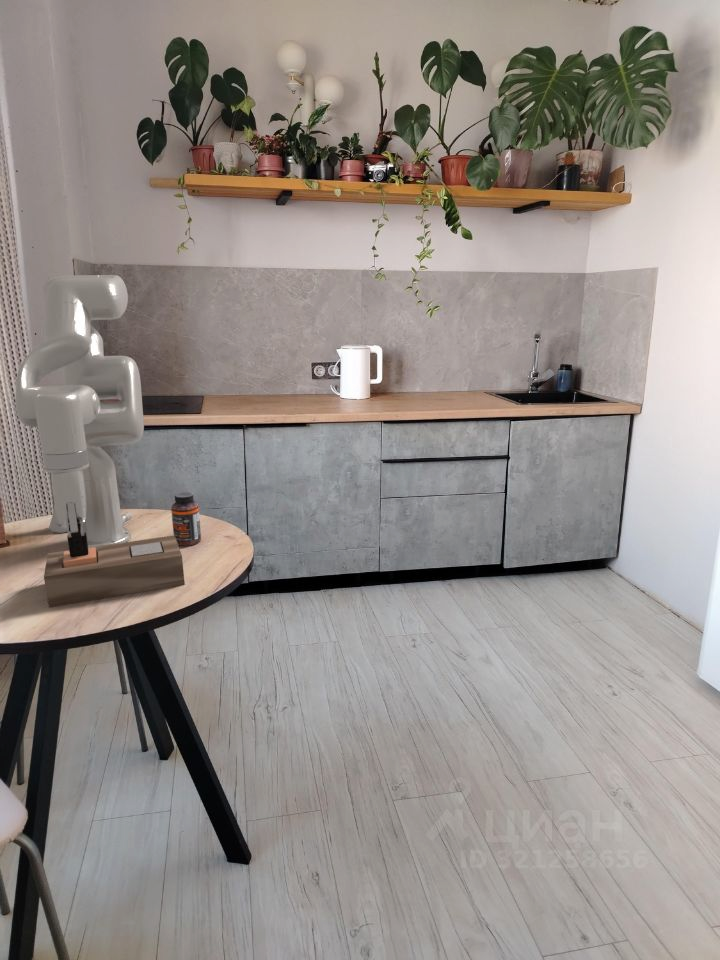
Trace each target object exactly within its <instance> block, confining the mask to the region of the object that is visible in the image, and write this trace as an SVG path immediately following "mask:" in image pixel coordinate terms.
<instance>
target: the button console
mask: <svg viewBox="0 0 720 960" xmlns="http://www.w3.org/2000/svg"><path fill="white" fill-rule="evenodd" d="M157 542H160V544H161V547H162V551H163V553H159V554H152V555H145V556H139V557H132V553H131V546H136V545H143V544H150V543H157ZM179 546H180V545H178V543H177V541H176V538H175V535H174V534H173V535H168V536H167V535H166V536H159V537H154V538H153V537H152V538H147V539H146V538H145V539H140V540H139V539H138V540H133V541H127V542H124V543H117V544H110V545H103V546H96V554H97V562H98V563H93V564H86V565H79V566H73V567H66V568H64V564H63V559H64V552H65V551H66V550H62V551H56V552H48V553H47V555H46V561H45V568H44V574H43V580H44V586H45V593H46V599H47V604H48V608H53V607H59V606H65V605H71V604H78V603H83V602H88V601H89V602H90V601H95V600H102V599H106V598H107V599H108V598H113V597H118V596H125V595H130V594H135V593H142V592H147V591H153V590H154V591H155V590H160V589H165V588H171V587H172V588H173V587H177V586H183V585H186V584H185V582H186V581H185V574H184V563H183V555H182V552H181V549H180V547H179ZM89 548H92V547H89ZM67 551H69V549H68V550H67Z"/></svg>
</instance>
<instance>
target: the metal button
mask: <svg viewBox="0 0 720 960" xmlns="http://www.w3.org/2000/svg"><path fill="white" fill-rule="evenodd" d="M131 553H132V557H139V556H145V555H152V554H159V553H163V551H162V547H161V544H160V542H157V543H150V544H143V545H136V546H131Z"/></svg>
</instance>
